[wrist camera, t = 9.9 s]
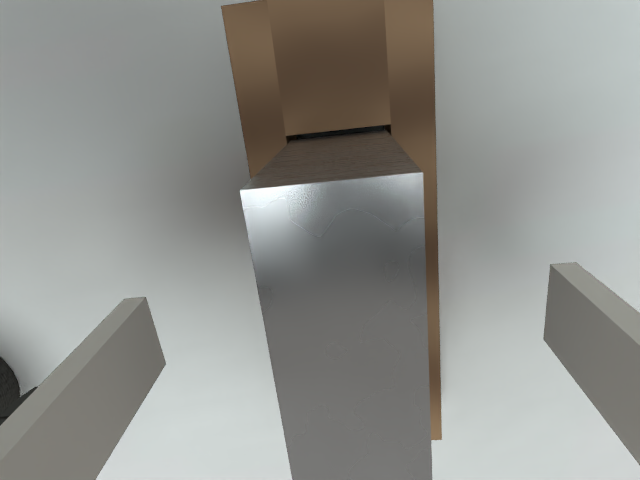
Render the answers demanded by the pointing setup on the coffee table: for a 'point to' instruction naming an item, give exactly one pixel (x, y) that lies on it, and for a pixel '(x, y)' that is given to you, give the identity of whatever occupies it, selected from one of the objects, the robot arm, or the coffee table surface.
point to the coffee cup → (7, 387)
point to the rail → (343, 94)
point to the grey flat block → (345, 304)
